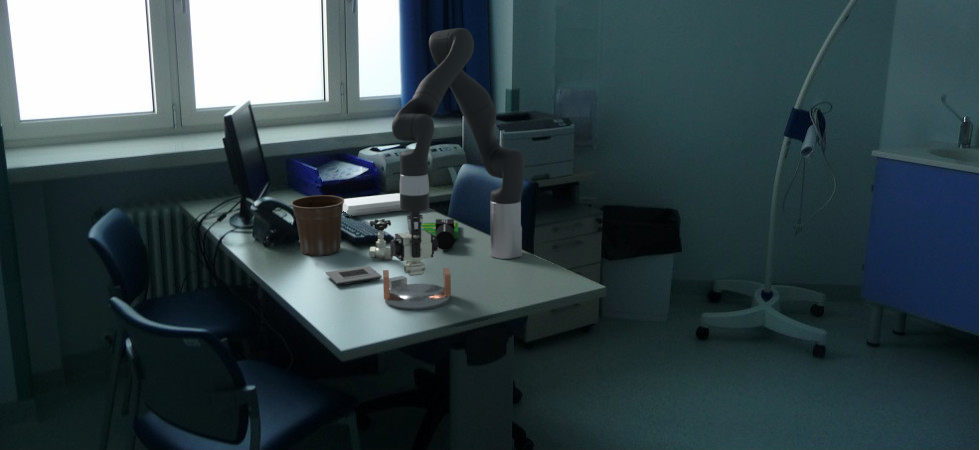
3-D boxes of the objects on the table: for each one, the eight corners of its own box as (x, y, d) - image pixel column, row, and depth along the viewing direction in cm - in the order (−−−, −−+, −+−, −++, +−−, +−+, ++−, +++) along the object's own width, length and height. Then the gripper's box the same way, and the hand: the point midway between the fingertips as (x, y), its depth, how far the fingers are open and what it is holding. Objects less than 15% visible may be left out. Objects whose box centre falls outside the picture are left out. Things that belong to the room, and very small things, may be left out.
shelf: (339, 213, 328) (338, 199, 327) (415, 204, 341) (415, 191, 339) (348, 220, 318) (348, 206, 317) (427, 211, 331) (426, 197, 329)
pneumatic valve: (390, 274, 235) (389, 230, 232) (431, 268, 240) (431, 225, 237) (397, 280, 230) (396, 235, 227) (439, 274, 235) (439, 230, 232)
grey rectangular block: (402, 284, 250) (402, 275, 249) (407, 286, 248) (406, 277, 247) (386, 287, 247) (386, 278, 246) (391, 289, 245) (391, 281, 244)
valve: (388, 263, 268) (387, 225, 265) (367, 262, 269) (366, 223, 266) (395, 257, 274) (394, 219, 271) (374, 256, 275) (373, 218, 272)
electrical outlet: (337, 289, 246) (336, 281, 245) (325, 279, 255) (325, 271, 254) (382, 282, 252) (381, 274, 251) (369, 272, 261) (369, 264, 260)
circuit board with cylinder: (413, 208, 306) (457, 207, 306) (414, 227, 308) (458, 227, 308) (409, 231, 277) (458, 230, 278) (410, 252, 279) (458, 252, 279)
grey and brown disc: (447, 287, 246) (447, 261, 244) (452, 308, 230) (452, 281, 228) (383, 290, 244) (382, 264, 242) (384, 312, 228) (383, 284, 226)
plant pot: (300, 261, 270) (297, 209, 266) (288, 247, 285) (285, 198, 280) (352, 254, 277) (350, 204, 273) (339, 241, 291) (336, 193, 287)
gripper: (430, 196, 223) (431, 261, 227) (427, 184, 237) (428, 245, 241) (400, 197, 222) (402, 262, 227) (399, 185, 236) (400, 246, 240)
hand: (415, 253), depth 234 cm, fingers closed on pneumatic valve, 6 cm apart
